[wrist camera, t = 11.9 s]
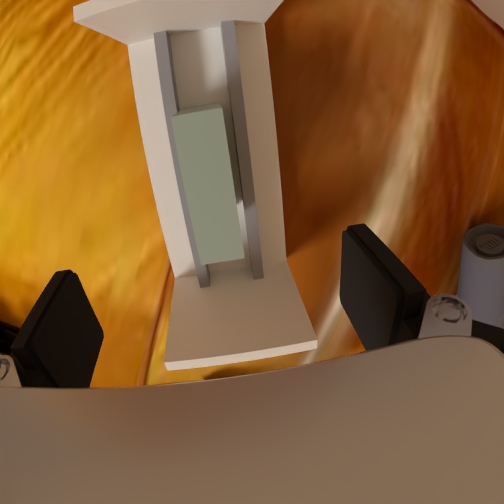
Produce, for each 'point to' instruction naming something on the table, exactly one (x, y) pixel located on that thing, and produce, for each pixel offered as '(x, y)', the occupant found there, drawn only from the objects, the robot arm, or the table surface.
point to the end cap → (7, 338)
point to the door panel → (208, 182)
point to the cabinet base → (242, 165)
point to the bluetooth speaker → (483, 273)
